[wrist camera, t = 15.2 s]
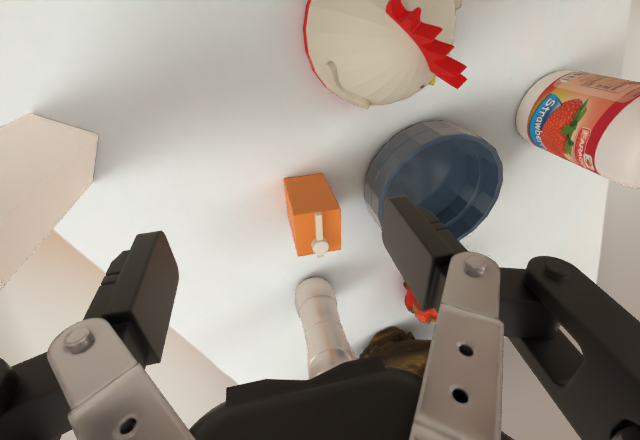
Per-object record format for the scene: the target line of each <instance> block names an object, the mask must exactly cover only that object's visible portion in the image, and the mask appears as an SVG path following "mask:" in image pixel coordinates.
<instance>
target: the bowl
mask: <svg viewBox="0 0 640 440" xmlns="http://www.w3.org/2000/svg"><path fill="white" fill-rule="evenodd" d="M502 182H503V170H502V162H501V160H500V158H499V156H498V154H497V151H496V149H495V148H494V147H493V146H492V145H490V144H489V143H488V142H487V141H485V140H484V139H483V138H481V137H479V136H477V135H476V134H474V133H472V132H470V131H468V130H466V129H464V128H462V127H460V126H458V125H456V124H452V123H448V122H444V121H440V120H439V121H430V122H421V123H418V124H416V125H414V126H412V127H409V128H407V129H405V130H402V131H401V132H400V133H398V134H397V135H396V136H395V137H393V138H392V139H391V140H390V141H388V142H387V143H386V144H385V145H384V146H383V147H382V149H381V150H380V152H379V153H378V154H377V156H376V157H375V158H374V160H373V161H372V163H371V166H370V168H369V171H368V174H367V177H366V179H365V200H366V203H367V206H368V209H369V212H370V214H371V215H372V217H373V218H374V220H375V221H376V223H377V224H378V226H379V227H380V229H381V231H382V223H383V209H384V201H385V199H386V198H390V197H396V196H403V195H406V196H407V197H408V198H409V199H410V200H411V201H412V202H413V204H414V205H415V206H416V207H417V206H422V207H424V208H426V209H427V210H429V211H431V212H433V213H434V215H435V216H436V217H437V218H438V219H439V220H440V222H442V223H443V224H444V226H445V227H446V229H448V230H449V231H450V232H451V233H452V234H453V235H454V237H455V238H456V239H457V240H458V241H459V240H461V239H462V238H464V237H465V236H467V235H468V234H469V233H471V232H472V231H473V230H475V229H476V228H477V227H478V225H479V224H480V223H481V222H482V221H483V220H484V219H485V218H486V217H487V216H488V214H489V213H490V211H491V209H492V207H493V206H494V204H495V202H496V201H497V199H498V196H499V192H500V189H501V186H502Z"/></svg>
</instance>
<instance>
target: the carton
mask: <svg viewBox="0 0 640 440" xmlns="http://www.w3.org/2000/svg"><path fill="white" fill-rule="evenodd" d="M284 185H285V194H286V203H287V211H288V218H289V222H290V226H291V230H292V234H293V238H294V243H295V247H296V251H297V255H298V256H304V255H310V254H317V256H318V257H323V256H324V254H325V253H326V252H328V251H335V250H340V249H341V209H340V207H339V205H338V203H337V201H336V199H335V197H334V195H333V193H332V191H331V189H330V187H329V185H328V183H327V181H326V179H325V177H324V176H323V174H315V175H307V176H300V177H292V178H284Z"/></svg>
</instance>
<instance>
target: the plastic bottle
mask: <svg viewBox="0 0 640 440" xmlns="http://www.w3.org/2000/svg"><path fill="white" fill-rule="evenodd" d="M294 304H295V307H296V310H297V313H298V315H299V317H300V319H301V322H302V325H303V329H304V332H305V338H306V345H307V353H308V373H309V379H312V378H314V377H316V376H318V375H320V374H322V373H324V372H326V371H328V370H330V369H332V368H334V367H336V366H338V365H340V364H342V363H344V362H348V361H352V360H357V359H356V356H355V355H354V353H353V351H352V349H351V347H350V345H349V343H348V341H347V338H346V336H345V333H344V331H343V328H342V325H341V323H340V318H339V314H338V309H337V300H336V294H335V291H334V289H333V288H332V286H331V284H330V283H329V282H328V281H326V280H324V279H322V278H318V277H313V278H309V279H306V280H304V281H303V282H302V283H301V284H300V285H299V286H298V287H297V289H296V291H295V297H294Z"/></svg>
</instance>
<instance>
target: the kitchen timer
mask: <svg viewBox="0 0 640 440" xmlns="http://www.w3.org/2000/svg"><path fill="white" fill-rule="evenodd" d="M461 6H462V0H308V3H307V5H306V11H305V19H304V26H303V33H304V42H305V51H306V54H307V56H308V59H309V62H310V64H311V67H312V70H313V71H314V73H315V74H316V75H317V77H318V78H319V79H320V81H321V82H322V83H323V85H324V86H325V87H326V88H328V89H329V90H330V91H332V92H333V93H334V94H336V95H337V96H339V97H340V98H341V99H343V100H346V101H348V102H350V103H352V104H354V105H357V106H359V107H362V108H365V109H369V106H370V105H385V104H390V103H393V102H397V101H400V100H403V99H406V98H409V97H410V96H412V95H413V94H415V93H417V92H418V91H420V90H421V89H423V88H424V87H425V86H426V85H427V84H430V85H434V82H435V76H436V75H437V76H438V77H439V78H441V79H442V80H444V81H445V82H447V83H448V84H450V85H451V86H453V87H455V88H457V89H458V88H459V87H460V86H461V85H462V84H463V83H464V82H465V81H466V80H467V78H465V77H464V76H463V75H461V74H460V73H461V72H462V71H463V70H464V69H465V68H466V66H465V65H463V64H462V63H460V62H458V61H456V60H454V59H452V58H450V57H448V56H449V53H450V51H451V50H452V49H453V48H454V46H453V45H452V44H453V41H454V35H455V26H456V15H455V10H457V9H459V8H461Z"/></svg>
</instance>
